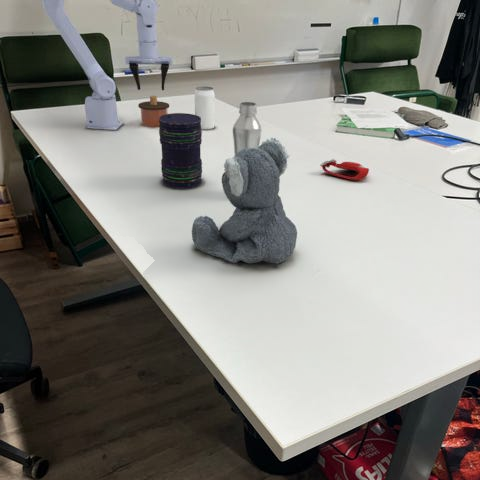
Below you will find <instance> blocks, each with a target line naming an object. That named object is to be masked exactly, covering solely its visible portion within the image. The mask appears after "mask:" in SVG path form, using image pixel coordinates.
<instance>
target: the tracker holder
mask: <svg viewBox="0 0 480 480" xmlns="http://www.w3.org/2000/svg"><path fill="white" fill-rule="evenodd" d="M319 166H320V167H321V168H322V171H324V172H325V173H326V174H328V175H330V176H334V177H338V178H342V179H347V180H353V181H362V180H363V179H365V178H366V177H367V175H368V174H369V173H370V169H369V167H365V166H364V165H362V164H361V163H358V162H355V161H343V162H341V163H338V160H337V159H334V158H333V159H330V160H325V161H323V162H322V163H320V165H319ZM331 166H332V167H335V168H336V169H341V170H346V171H352V172H357V173H358V174H357V175H355V176H348V175H344V174H340V173H336V172H332V171H330V170H328V169H327V168H330V167H331Z"/></svg>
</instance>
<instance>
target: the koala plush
mask: <svg viewBox="0 0 480 480" xmlns="http://www.w3.org/2000/svg"><path fill="white" fill-rule="evenodd" d="M234 155H235V154H234ZM290 156H291V155H290V154H289V153H288V151H287V150H286V147H285V146H284V145H283V143H282V142H281V141H280V140H279V139H276V137H271V138H270V139H269V138H267V139H266V141H265V140H263V141H262V142H261V144H259V147H258V149H256V148H248V149H242V150H241V151H239V152H238V153H237V154H236V155H235V156H232V157H228V158H226V159H225V161H224V163H223V168H224V169H223V170H224V172H223V174H222V176H221V185H222V190H223V192H224V194H225V196H226V198H227V200H228V201H229V202H230V204H231V205H232V206H233V207H234V208H235V209H234V210H233V212H232V215H230V216H229V218H228V219H227V220H225V221H224V222H223V223H222V224H221V226H220V227H218V226H217V224H216V222H215V221H214V219H213V218H211V217H209V216H207V215H205V216H203V215H199V216H197V217H196V218H195V219H193V220H194V221H193V222H192V227H191V238H192V239H191V240H192V242H193V244H194V245H195V247H196V249H197V250H199V251H200V252H202V253H204V254H207V255H210V256H213V257H218V258H220V259H223V260H224V261H227V262H228V263H232V264H237V263H239V262H240V261H242V262H244V263H246V264H255V263H259V262H265V263H268V264H275V265H278V264H280V263H283V262H285V261H286V260H287V259H288V258H289V257H291V256H292V255H293V253H294V251H295V249H296V246H297V245H296V244H297V238H298V230H297V227H296V225H295V224H294V222H293V221H292V220H291V219H290V218H289V217H287V215H286V211H285V210H284V205H283V201H282V198H281V196H280V195H279V192H280V183H281V178H280V177H281V176H282V175H284V174H285V172H286V170H287V168H288V159H289V157H290Z"/></svg>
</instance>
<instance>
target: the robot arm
mask: <svg viewBox="0 0 480 480" xmlns="http://www.w3.org/2000/svg"><path fill="white" fill-rule="evenodd" d="M41 2H42V8H43V11H44V12H45V14H46V15H47V16H48V17H47V18H48V19H49V20H50V22H51V23H52V24H53V25H54V27H55V29H56V30H57V32H58V33H59V35H60V36H61V38H62V40H63V41H64V43H65V44H66V45H67V47H68V49H69V50H70V51H71V54H73V56H74V57H75V59H76V60H77V61H78V63H79V65H80V66H81V68H82V70H83V72H84V74H85V75H86V77H87V79H88V83H89V87H90V89H92V91H93V92H92V94H91V96H86V97H85V99H84V111H85V117H86V124H87V126H86V128H87V129H93V130H107V131H116V130H117V129H119V128H120V127H121V126H122V125H124V123H123V122H122V121H121V122H119V116H118V107H117V106H118V105H117V98H116V91H117V86H116V82H115V81H114V80H113V79H112V78H111V77H110V76H108V75H107V74H106V72H105V71H104V69H103V68H102V67H101V65H100V64H99V62H98V61H97V60H96V58H95V57H94V55H93V53H92V52H91V50H90V49H89V47H88V45H87V44H86V42H85V41H84V39H83V38H82V36H81V34H80V33H79V32H78V29H77V28H76V26H75V25H74V23H73V21H72V20H71V19H70V17H69V15H68V14H67V12H66V11H65V9H64V2H65V0H41ZM110 3H111V4H112V5H114V6H116V7H119V8H121V9H123V10H126V11H128V12H129V13H135V15H136V31H137V43H138V54H139V56H138V55H136V56H125V57H124V59H125V61H124V63H125V65H128V68H129V70H130V72H131V74H132V76H133V78H134V81H135V84H136V88H137V90H138V91H140V90H141V81H140V73H139V72H140V71H139V65H154V66H155V65H160V73H161V91H165V83H166V78H167V74H168V71H169V69H170V66H173V57H167V56H159V54H158V53H159V52H158V39H157V38H158V34H157V23H156V16H157V14H158V11H159V7H158V5H157V2H156V0H110Z"/></svg>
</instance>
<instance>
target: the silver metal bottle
mask: <svg viewBox="0 0 480 480" xmlns="http://www.w3.org/2000/svg"><path fill="white" fill-rule="evenodd" d="M257 107H258V106H257V103H256V102H253V101H242V102H240V103H239V110H238V113H239V116H238V118H237V119H236V121H235V123H234V124H233V127H232V139H233V140H232V141H233V154H234V156H235V155H236V154H237V153H238V152H239V151H241V150H242V149H248V148H256V149H258V147H259V146H260V143H261V137H262V132H263V131H262V125H261V124H260V121H259V120H258V118H257V117H256V114H257ZM234 156H233V157H234Z"/></svg>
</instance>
